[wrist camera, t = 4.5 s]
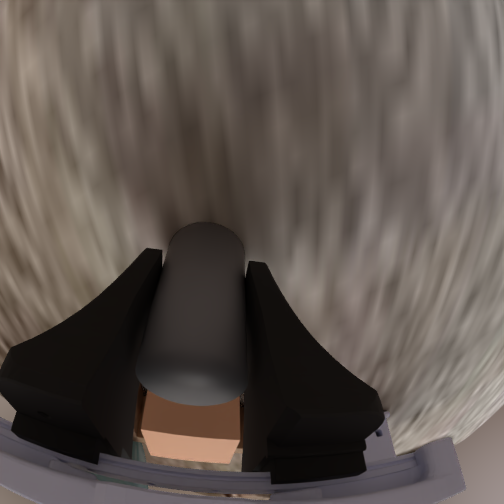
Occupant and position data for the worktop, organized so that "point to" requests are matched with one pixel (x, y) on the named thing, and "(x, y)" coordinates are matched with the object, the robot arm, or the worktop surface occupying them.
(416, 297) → the worktop surface
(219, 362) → the tethered block
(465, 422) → the worktop surface
